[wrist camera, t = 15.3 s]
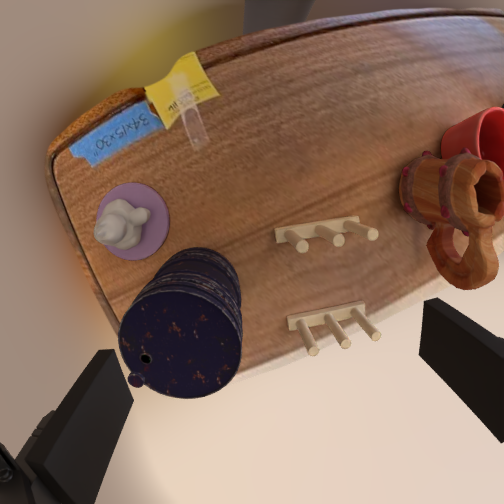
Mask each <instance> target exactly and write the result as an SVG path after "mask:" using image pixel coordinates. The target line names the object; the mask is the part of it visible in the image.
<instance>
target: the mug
mask: <svg viewBox="0 0 504 504" xmlns="http://www.w3.org/2000/svg"><path fill="white" fill-rule="evenodd" d="M502 178H503V172H502V170H501V169H500V168H499V166H498V165H496V164H495V163H494V162H492V161H489V160H481V159H480V158H478V157H477V156H475V155H473V154H471V153H470V151H469V150H468V148H463V149H462V150H461V152H460V153H459V154H458V155H455V156H453V157H451V158H450V159H439V158H437V157H435V156H432V154H431V152H430V151H424V152H423V154H422V157H419V158H417V159H415V160H413V161H412V162H411V163H410V164H408V165H407V166H406V167H404V169H403V170H402V174H401V179H400V184H399V194H400V199H401V203H402V205H403V207H404V210H405V212H407V213H409V214H410V216H411V217H412V218H413V219H414V220H416V221H418V222H420V223H423V224H425V225H427V227H428V228H429V229H431V230H433V229H434V231H433V233H432V235H431V237H430V238H429V240H428V242H427V245H426V246H427V248H428V251H429V253H430V255H431V257H432V260H433V262H434V264H435V265H436V268H437V270H438V271H439V273H440V274H441V275H442V276H443V277H444V278H445V279H446V280H447V281H448V282H449V283H450V284H452V285H453V286H455V287H456V288H460V289H463V290H472V289H477V288H479V287H482V286H484V285H486V284H488V283H489V282H491V281H492V280H494V279H495V277H496V275H497V273H498V267H499V263H498V258H497V255H496V252H495V250H494V247H493V243H492V226H494V224H495V221H497V222H498V221H500V220H501V219H502V217H503V215H504V180H503V179H502ZM455 228H456V229H459V230H461V231H462V232H463V234H464V235H465V236H468V237H469V246H468V247H467V249H466V251H465V253H464V255H463V257H460V256H459V254H458V253H457V251H456V249H455V247H454V243H453V233H454V229H455Z"/></svg>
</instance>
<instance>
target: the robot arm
mask: <svg viewBox="0 0 504 504" xmlns="http://www.w3.org/2000/svg"><path fill="white" fill-rule="evenodd" d="M419 356H420V357H421V358H422V359H423V360H424V361H425V362H426V363H427V364H428V365H429V366H430V367H431V368H432V369H433V370H434V371H435V372H436V373H437V374H438V375H439V376H440V377H441V378H442V379H443V380H444V381H445V383H447V385H448V386H449V387H450V388H451V389H452V390H453V391H454V392H455V393H456V394H457V395H458V396H459V397H460V398H461V400H462V401H463V402H464V403H465V404H466V405H467V406H468V407H469V408H470V409H471V410H472V412H473V413H474V414H475V415H476V416H477V417H478V418H479V419H480V420H481V421H482V423H484V425H485V426H486V427H487V428H488V429H489V430H490V431H491V433H492V434H493V435H494V436H495V437H496V438H497V439H498V440H499V441H500V443H503V442H504V339H503V338H500V337H496V336H495V335H494V334H492V333H491V332H489V331H488V330H486V329H485V328H483V327H482V326H480V325H479V324H477V323H476V322H474V321H473V320H471V319H470V318H468V317H467V316H465V315H464V314H462V313H461V312H459V311H458V310H456V309H455V308H453V307H451V306H450V305H448V304H447V303H445V302H444V301H442V300H441V299H439V298H434V299H430V300H426V301H424V308H423V320H422V331H421V341H420V349H419ZM133 402H134V399H133V397H132V395H131V392H130V390H129V388H128V385H127V382H126V380H125V377H124V375H123V372H122V370H121V367H120V364H119V361H118V358H117V356H116V353H115V350H114V349H107V350H98V352H97V353H96V354H95V356H94V357H93V358H92V360H91V361H90V362H89V364H88V365H87V367H86V368H85V369H84V371H83V372H82V373H81V375H80V376H79V378H78V379H77V381H76V382H75V383H74V385H73V386H72V388H71V389H70V391H69V392H68V393H67V395H66V396H65V398H64V399H63V401H62V402H61V404H60V405H59V406H58V408H57V409H56V411H54V410H52V411H51V412H50V413H48V414H47V415H46V416H45V417H43V418H42V420H41V421H40V423H39V424H38V426H37V429H35V430H34V431H33V433H32V436H30V437H29V439H28V440H27V442H26V443H25V445H24V446H23V448H22V450H21V451H20V452H19V454H18V456H17V457H16V459H15V460H14V458H13V457H12V456H11V455H10V453H9V452H8V450H7V449H6V448H5V446H4V445H3V444H1V443H0V504H94V503H95V500H96V497H97V495H98V492H99V489H100V486H101V484H102V481H103V478H104V475H105V473H106V470H107V467H108V465H109V462H110V459H111V457H112V454H113V452H114V449H115V447H116V444H117V441H118V439H119V436H120V434H121V431H122V429H123V426H124V423H125V421H126V419H127V416H128V414H129V411H130V409H131V407H132V404H133Z"/></svg>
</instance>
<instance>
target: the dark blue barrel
mask: <svg viewBox="0 0 504 504" xmlns="http://www.w3.org/2000/svg"><path fill="white" fill-rule="evenodd" d="M240 308H241V292H240V286H239V280H238V276H237V273H236V271H235V269H234V267H233V266H232V264H231V263H230V262H229V261H228V260H227V259H226V258H225V257H224V256H223V255H221V254H220V253H218V252H216V251H214V250H211V249H208V248H202V247H194V248H188V249H184V250H182V251H180V252H178V253H176V254H175V255H173V256H172V257H171V258H170V259H169V260H168V261H167V262H166V263H164V264H163V265H162V267H161V268H160V269H159V271H158V272H157V274H156V275H155V277H154V278H153V280H151V281H150V282H149V283H148V284H147V285H146V286H145V287H144V288H143V289H142V291H141V292H140V293H139V294H138V295H137V297H136V298H135V300H134V301H133V303H132V305H131V306H130V307H129V309H128V310H127V311H126V313H125V314H124V316H123V318H122V321H121V323H120V327H119V331H118V343H119V349H120V352H121V355H122V358H123V360H124V362H125V364H126V365H127V367H128V369H129V370H130V371H131V373H130V374H129V376H128V382H129V384H130V385H132V386H133V387H136V388H139V387H142V386H143V384H144V385H146V386H147V387H149V388H150V389H152V390H154V391H156V392H158V393H160V394H163V395H166V396H170V397H174V398H182V399H194V398H200V397H205V396H208V395H211V394H213V393H215V392H217V391H219V390H221V389H222V388H223V387H225V386H226V385H227V384H228V383H229V382H230V381H231V380H232V379H233V377H234V376H235V374H236V373H237V371H238V368H239V366H240V362H241V358H242V337H243V330H242V315H241V311H240Z"/></svg>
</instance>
